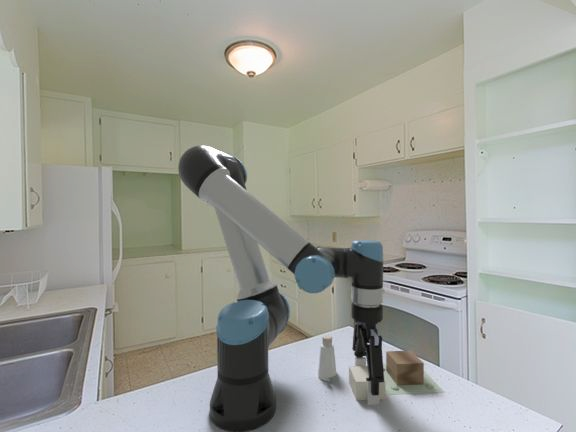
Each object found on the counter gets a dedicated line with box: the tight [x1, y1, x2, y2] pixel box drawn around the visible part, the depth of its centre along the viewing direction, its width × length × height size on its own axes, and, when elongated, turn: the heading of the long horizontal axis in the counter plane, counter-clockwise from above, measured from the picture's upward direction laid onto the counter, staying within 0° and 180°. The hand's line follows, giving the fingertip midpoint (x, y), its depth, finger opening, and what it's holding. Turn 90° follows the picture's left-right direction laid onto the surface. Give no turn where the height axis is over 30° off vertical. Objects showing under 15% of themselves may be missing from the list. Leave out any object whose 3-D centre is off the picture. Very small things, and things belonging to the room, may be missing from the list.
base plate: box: [383, 363, 445, 396], centre depth 80 cm, size 14×14×1 cm
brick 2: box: [385, 350, 425, 386], centre depth 79 cm, size 7×7×6 cm
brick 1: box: [348, 365, 386, 401], centre depth 74 cm, size 7×7×6 cm
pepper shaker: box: [317, 334, 337, 382], centre depth 82 cm, size 5×5×11 cm
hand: (366, 393), depth 74 cm, fingers open, 9 cm apart
